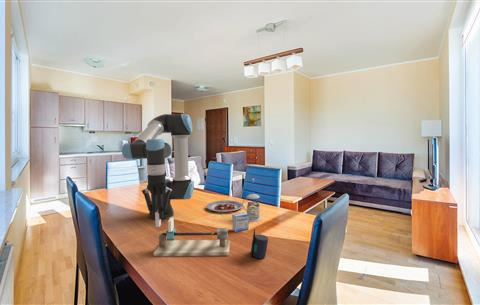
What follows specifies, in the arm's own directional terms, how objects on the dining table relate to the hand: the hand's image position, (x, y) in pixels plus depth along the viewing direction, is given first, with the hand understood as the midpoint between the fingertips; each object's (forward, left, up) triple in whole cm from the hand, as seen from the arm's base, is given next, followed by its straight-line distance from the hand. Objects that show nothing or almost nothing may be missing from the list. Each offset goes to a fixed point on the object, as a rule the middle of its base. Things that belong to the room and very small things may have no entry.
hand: (158, 225), depth 107 cm
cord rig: (+16, 0, -11) cm, 19 cm away
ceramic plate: (+26, +61, -11) cm, 67 cm away
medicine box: (+37, +22, -11) cm, 44 cm away
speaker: (+45, -6, -11) cm, 46 cm away
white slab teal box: (+6, 0, -6) cm, 8 cm away
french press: (+44, +39, -11) cm, 60 cm away
